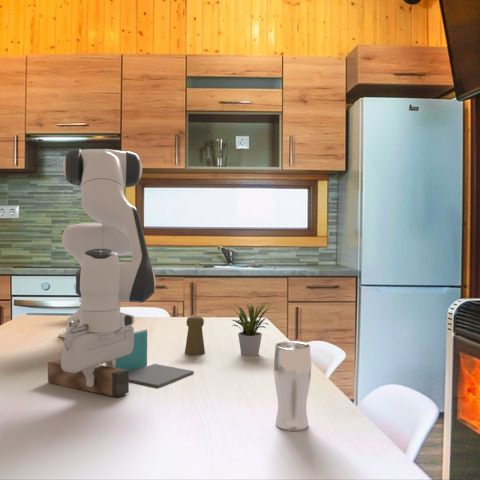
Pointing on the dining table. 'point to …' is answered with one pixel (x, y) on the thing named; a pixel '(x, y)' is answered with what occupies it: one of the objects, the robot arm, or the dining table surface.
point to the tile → (135, 353)
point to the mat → (157, 375)
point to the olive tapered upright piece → (195, 336)
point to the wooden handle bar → (107, 377)
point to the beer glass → (292, 384)
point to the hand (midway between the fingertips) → (99, 382)
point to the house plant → (250, 330)
